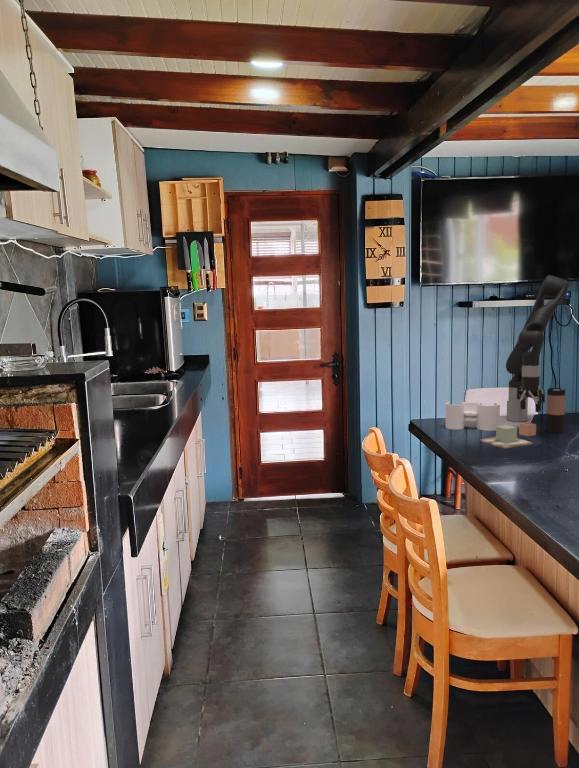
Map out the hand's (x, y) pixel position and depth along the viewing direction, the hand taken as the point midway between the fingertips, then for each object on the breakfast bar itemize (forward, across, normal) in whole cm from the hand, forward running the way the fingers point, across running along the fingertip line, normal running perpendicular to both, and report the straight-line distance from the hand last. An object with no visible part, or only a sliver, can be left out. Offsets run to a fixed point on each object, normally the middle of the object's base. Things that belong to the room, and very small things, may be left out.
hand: (530, 410), depth 258 cm
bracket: (+11, +24, +13) cm, 29 cm away
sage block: (+10, -6, +19) cm, 23 cm away
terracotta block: (+11, +1, +1) cm, 11 cm away
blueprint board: (+11, -6, +20) cm, 23 cm away
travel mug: (+12, -2, -14) cm, 18 cm away
